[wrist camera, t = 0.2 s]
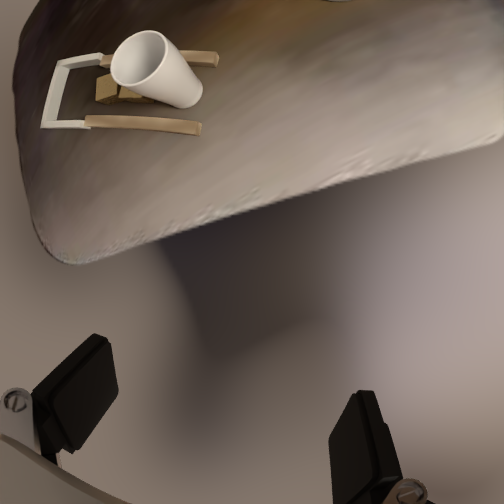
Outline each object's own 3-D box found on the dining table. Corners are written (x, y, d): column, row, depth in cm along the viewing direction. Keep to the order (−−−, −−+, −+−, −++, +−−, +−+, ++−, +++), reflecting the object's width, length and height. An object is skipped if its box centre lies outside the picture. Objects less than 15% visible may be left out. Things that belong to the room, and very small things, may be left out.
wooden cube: (137, 79, 35) (125, 72, 31) (159, 79, 35) (148, 71, 31) (131, 102, 36) (118, 97, 32) (153, 103, 36) (141, 97, 32)
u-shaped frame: (67, 64, 34) (57, 60, 31) (109, 57, 34) (99, 52, 31) (50, 128, 38) (40, 127, 35) (90, 128, 37) (79, 127, 35)
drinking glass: (209, 111, 35) (166, 78, 21) (164, 117, 36) (106, 94, 22) (208, 69, 33) (170, 22, 19) (165, 76, 34) (112, 40, 20)
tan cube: (110, 84, 35) (97, 78, 31) (130, 77, 35) (117, 70, 31) (109, 105, 36) (95, 101, 32) (129, 99, 36) (116, 93, 32)
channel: (108, 59, 34) (102, 55, 32) (219, 57, 33) (215, 51, 31) (90, 127, 37) (83, 126, 35) (199, 136, 36) (194, 134, 34)
